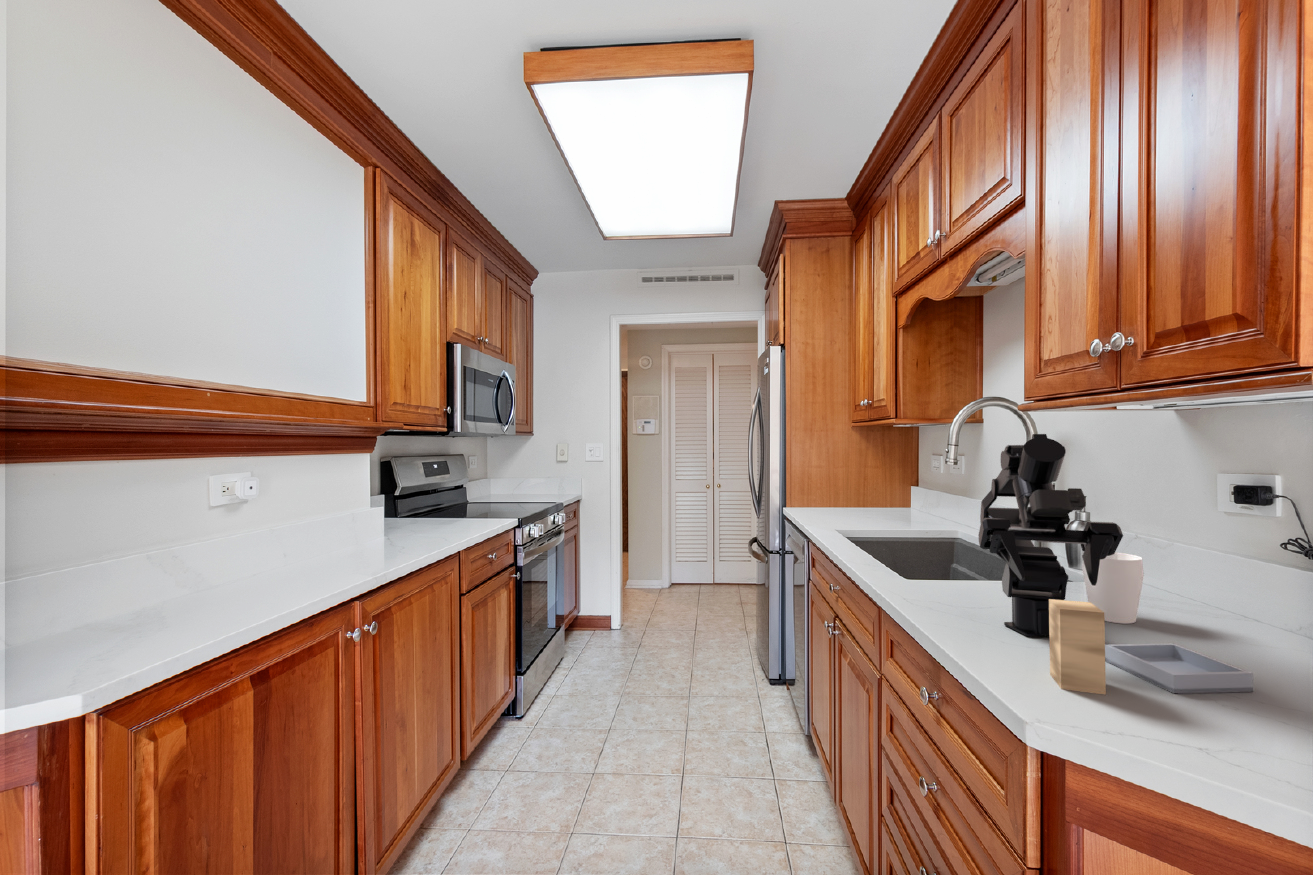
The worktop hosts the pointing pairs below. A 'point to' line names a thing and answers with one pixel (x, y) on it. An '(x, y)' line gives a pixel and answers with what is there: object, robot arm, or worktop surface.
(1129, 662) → the dish
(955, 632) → the worktop surface
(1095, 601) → the cup
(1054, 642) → the oak block
